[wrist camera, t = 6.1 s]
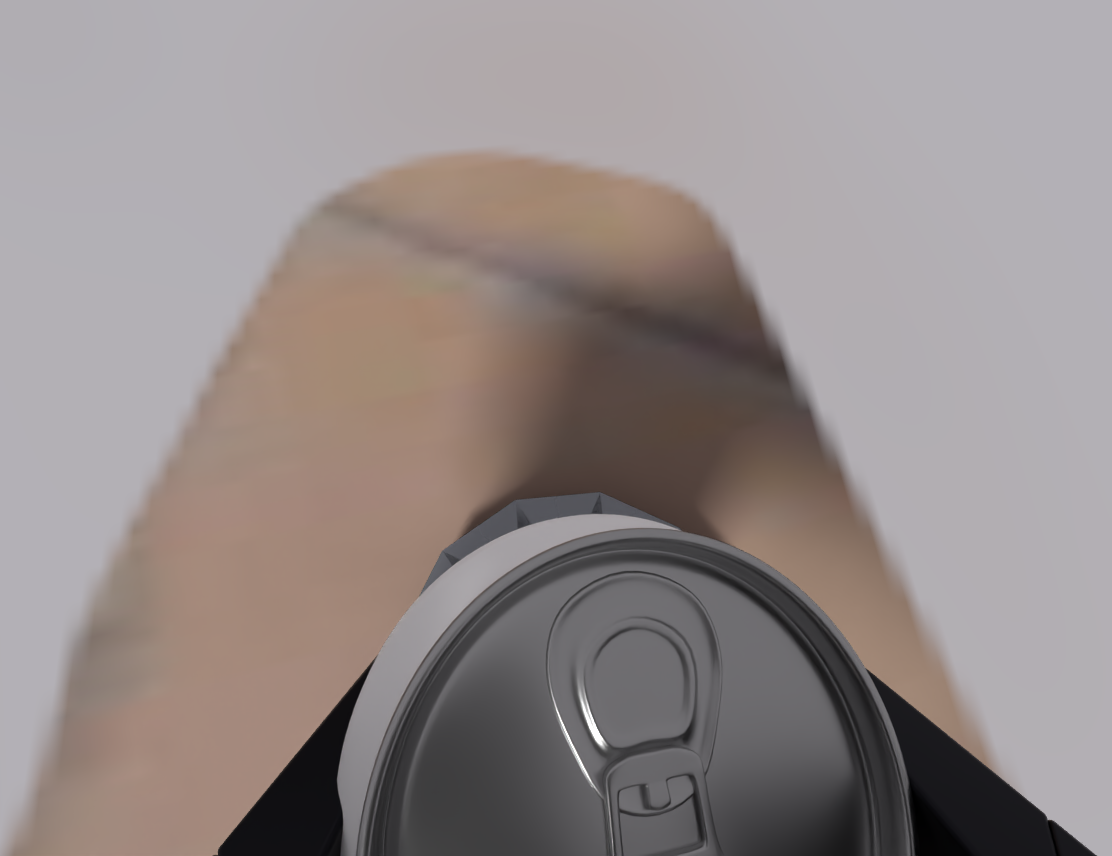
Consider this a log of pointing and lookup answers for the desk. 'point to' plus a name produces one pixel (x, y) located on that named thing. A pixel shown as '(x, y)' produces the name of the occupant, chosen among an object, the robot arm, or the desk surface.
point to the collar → (531, 522)
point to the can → (620, 710)
